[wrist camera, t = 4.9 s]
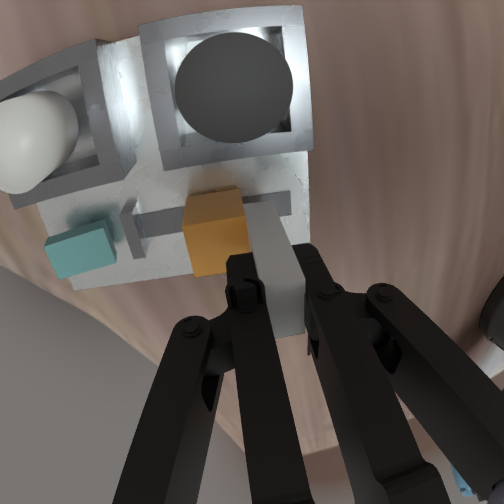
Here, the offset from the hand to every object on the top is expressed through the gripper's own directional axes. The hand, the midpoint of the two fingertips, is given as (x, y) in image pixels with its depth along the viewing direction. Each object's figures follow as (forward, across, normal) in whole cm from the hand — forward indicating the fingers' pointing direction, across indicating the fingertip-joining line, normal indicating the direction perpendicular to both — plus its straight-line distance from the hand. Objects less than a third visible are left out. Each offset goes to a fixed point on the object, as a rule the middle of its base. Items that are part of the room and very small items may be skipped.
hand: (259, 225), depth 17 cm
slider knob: (+2, +2, 0) cm, 3 cm away
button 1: (-1, +10, -7) cm, 12 cm away
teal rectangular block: (+1, +11, 0) cm, 11 cm away
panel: (+7, +5, -3) cm, 9 cm away
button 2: (-1, +1, -7) cm, 7 cm away
